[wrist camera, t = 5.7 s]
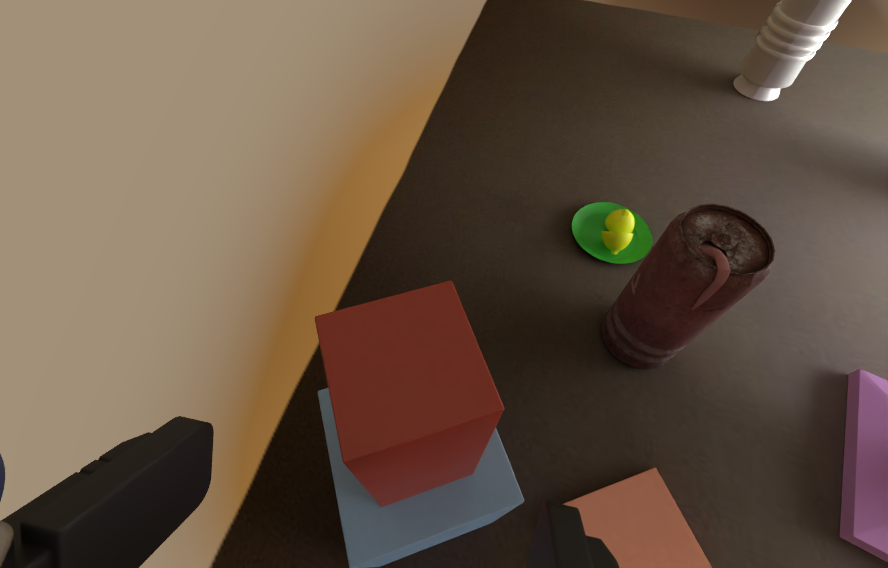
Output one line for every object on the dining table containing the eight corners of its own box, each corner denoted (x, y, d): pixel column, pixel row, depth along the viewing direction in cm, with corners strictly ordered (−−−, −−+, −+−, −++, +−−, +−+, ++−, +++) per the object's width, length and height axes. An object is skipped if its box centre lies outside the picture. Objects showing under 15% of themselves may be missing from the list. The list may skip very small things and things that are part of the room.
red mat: (608, 675, 25) (612, 678, 25) (541, 512, 30) (543, 511, 29) (733, 614, 27) (738, 615, 27) (652, 468, 32) (655, 467, 31)
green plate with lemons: (656, 270, 41) (670, 253, 39) (573, 263, 42) (582, 245, 39) (642, 209, 46) (654, 190, 43) (567, 203, 46) (574, 184, 44)
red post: (381, 507, 19) (342, 463, 11) (359, 413, 21) (313, 316, 13) (473, 473, 20) (505, 409, 12) (443, 386, 22) (451, 279, 14)
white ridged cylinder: (742, 67, 62) (822, -60, 49) (791, 89, 59) (888, -40, 46) (720, 86, 59) (799, -44, 46) (770, 109, 56) (868, -22, 44)
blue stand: (378, 567, 28) (349, 569, 18) (352, 445, 32) (317, 390, 22) (492, 522, 29) (525, 501, 19) (454, 411, 34) (464, 346, 23)
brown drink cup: (598, 366, 36) (680, 270, 24) (600, 302, 39) (672, 191, 28) (673, 381, 35) (793, 291, 24) (668, 315, 39) (771, 208, 27)
